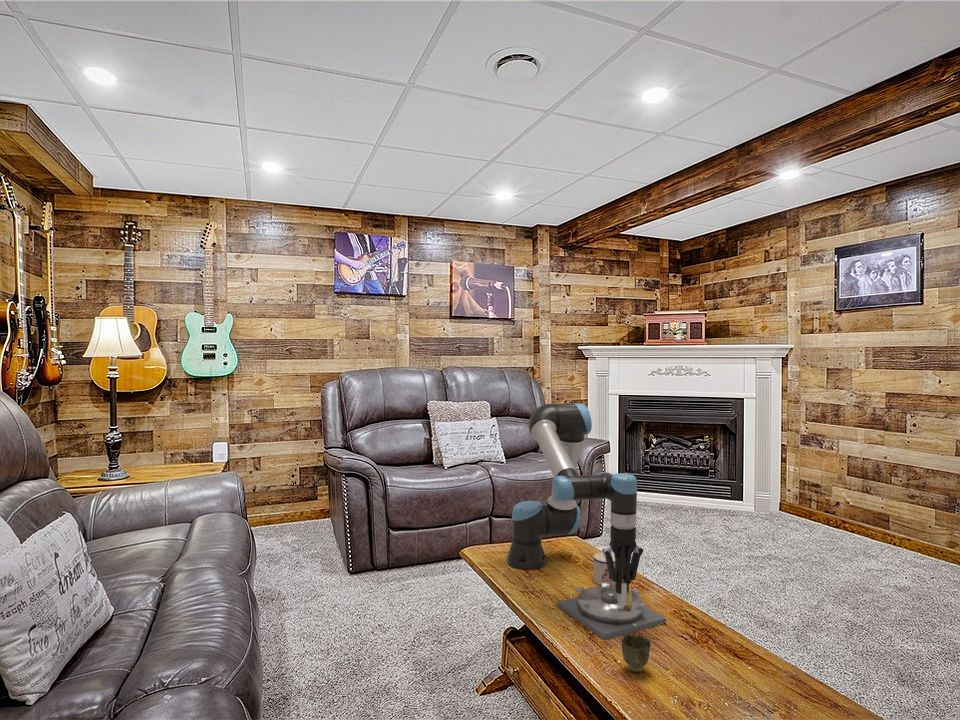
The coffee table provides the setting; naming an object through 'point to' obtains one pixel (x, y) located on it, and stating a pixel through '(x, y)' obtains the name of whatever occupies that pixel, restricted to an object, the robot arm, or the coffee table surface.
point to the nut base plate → (610, 629)
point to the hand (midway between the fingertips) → (621, 603)
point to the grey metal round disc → (609, 604)
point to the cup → (635, 651)
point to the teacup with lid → (602, 569)
